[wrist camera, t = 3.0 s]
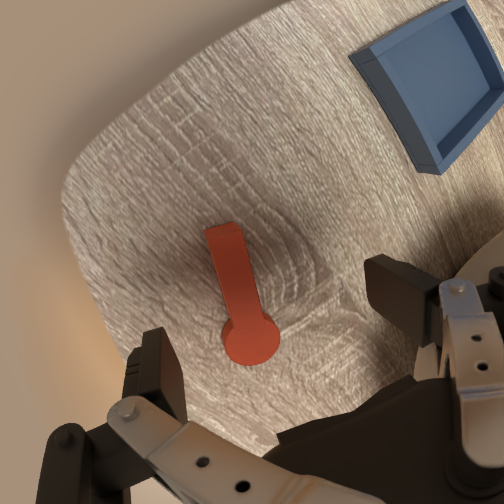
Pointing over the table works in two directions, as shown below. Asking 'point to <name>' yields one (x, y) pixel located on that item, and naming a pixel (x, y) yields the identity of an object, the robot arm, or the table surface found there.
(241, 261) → the red spoon
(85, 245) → the table surface
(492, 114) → the blue tray
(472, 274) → the pot
